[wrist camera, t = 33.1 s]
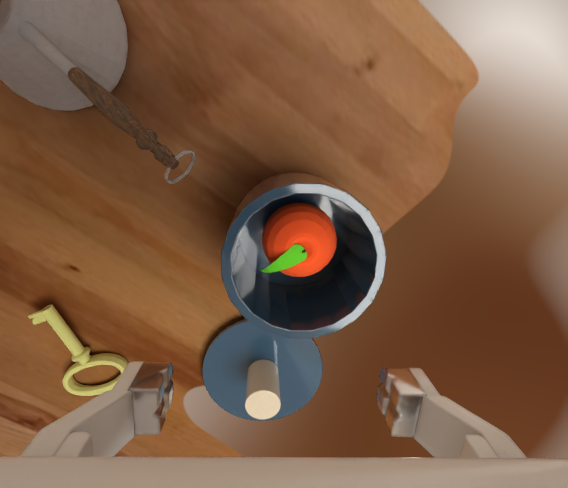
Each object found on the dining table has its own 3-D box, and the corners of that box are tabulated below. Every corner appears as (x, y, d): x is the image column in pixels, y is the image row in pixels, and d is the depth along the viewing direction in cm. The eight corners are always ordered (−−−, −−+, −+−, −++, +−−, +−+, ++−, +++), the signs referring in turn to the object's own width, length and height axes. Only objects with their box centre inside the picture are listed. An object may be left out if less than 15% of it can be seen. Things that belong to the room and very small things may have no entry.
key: (55, 294, 35) (42, 303, 33) (139, 369, 38) (132, 382, 36) (9, 332, 36) (-7, 343, 34) (95, 402, 39) (85, 416, 37)
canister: (328, 303, 37) (348, 355, 28) (217, 270, 35) (201, 314, 26) (373, 196, 34) (413, 215, 25) (254, 153, 32) (250, 157, 23)
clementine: (279, 279, 36) (282, 311, 29) (240, 228, 34) (233, 250, 27) (341, 237, 35) (360, 260, 28) (304, 183, 33) (315, 193, 26)
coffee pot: (-24, 51, 28) (-317, -42, 14) (42, -73, 26) (-224, -334, 12) (184, 206, 33) (124, 253, 19) (255, 111, 31) (247, 84, 17)
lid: (297, 423, 42) (302, 469, 36) (190, 398, 40) (177, 442, 34) (338, 332, 38) (352, 366, 33) (223, 299, 36) (215, 329, 30)
